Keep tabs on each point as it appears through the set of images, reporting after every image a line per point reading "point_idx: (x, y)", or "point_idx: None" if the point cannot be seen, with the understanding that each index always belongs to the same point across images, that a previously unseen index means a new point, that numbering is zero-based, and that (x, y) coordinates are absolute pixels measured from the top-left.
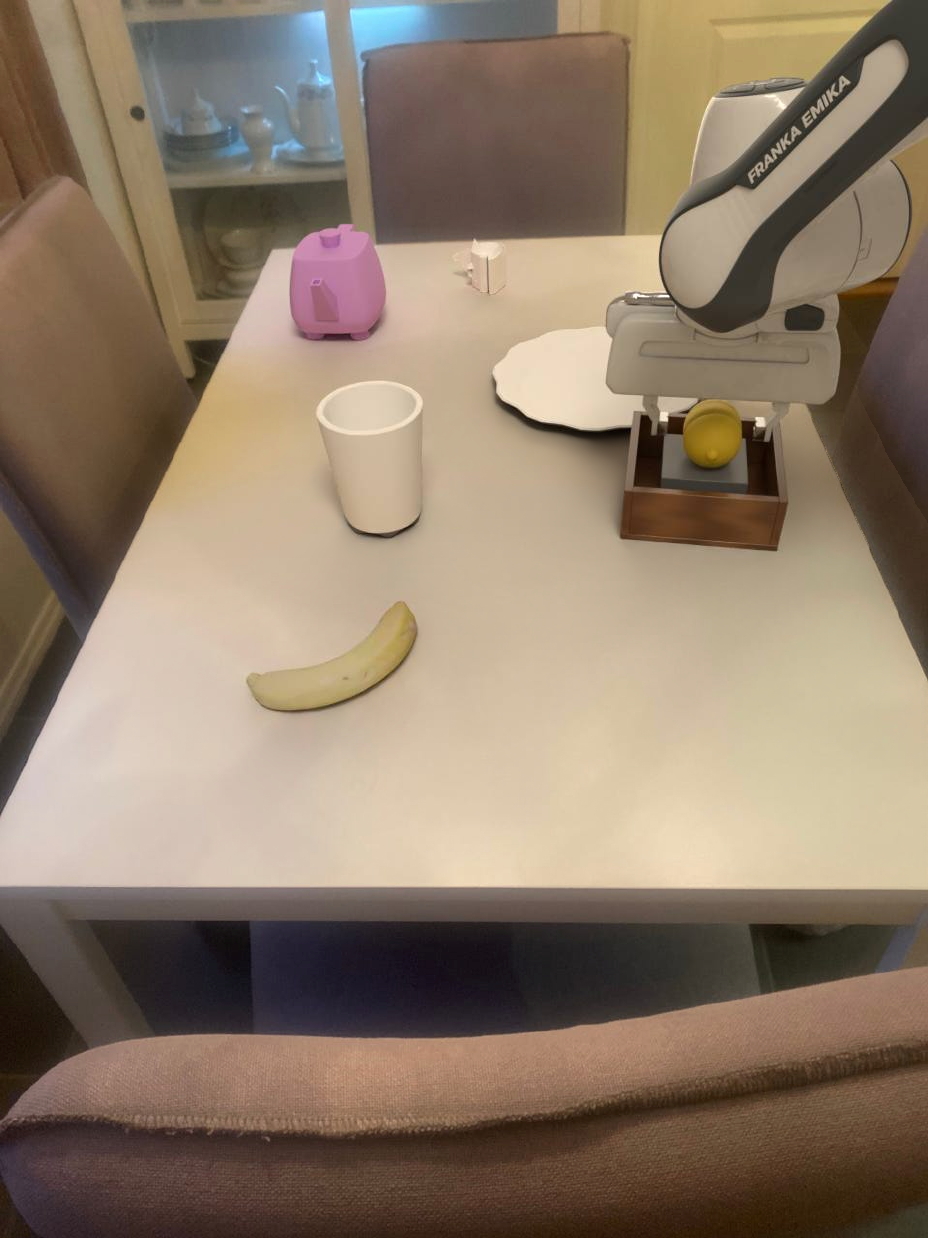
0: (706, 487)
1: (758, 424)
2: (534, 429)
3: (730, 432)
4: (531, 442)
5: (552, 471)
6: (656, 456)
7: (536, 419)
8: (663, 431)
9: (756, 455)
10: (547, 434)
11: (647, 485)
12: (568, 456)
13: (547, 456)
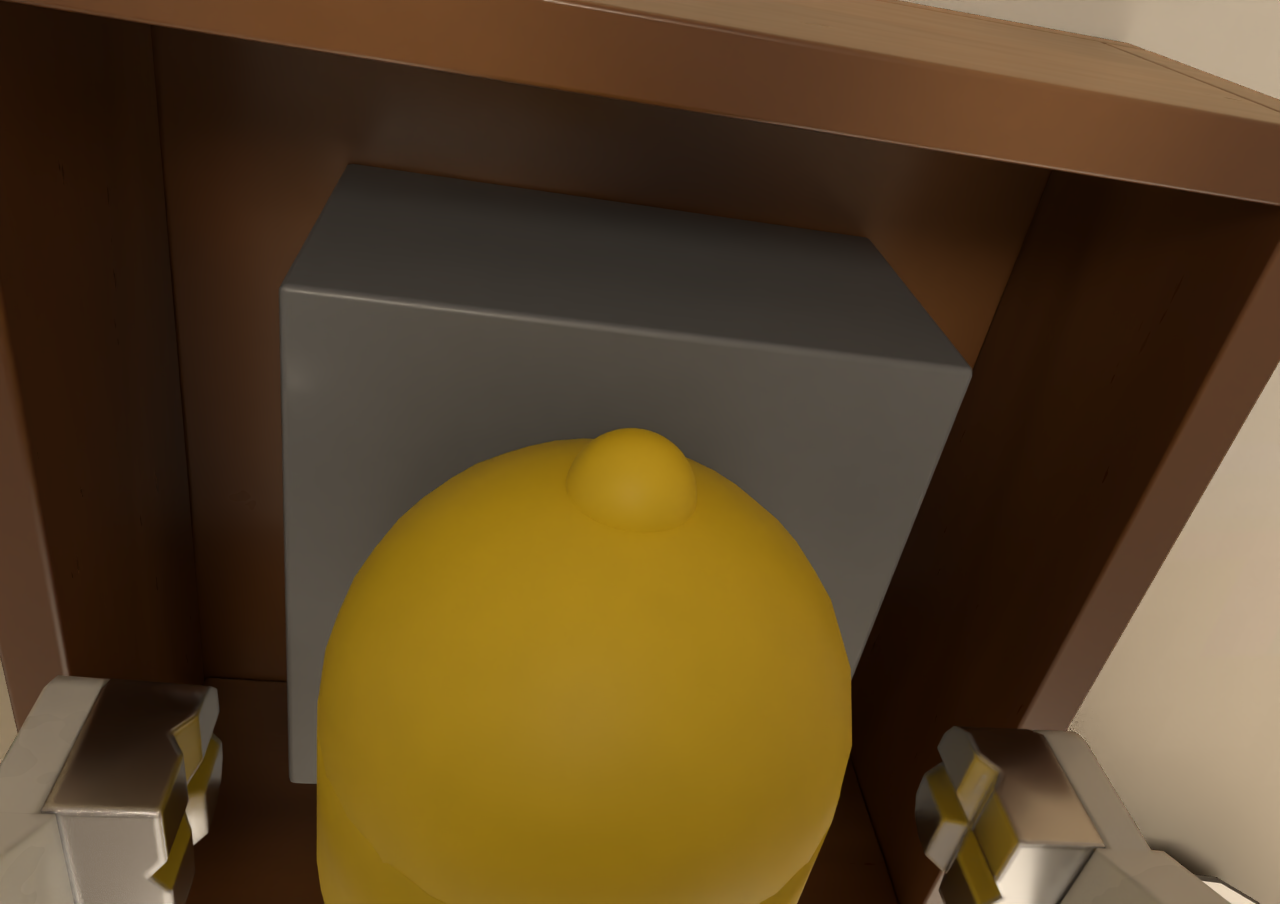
0: (620, 296)
1: (135, 841)
2: (1189, 852)
3: (452, 711)
4: (1238, 784)
5: (1238, 615)
6: None
7: (1235, 894)
8: (1004, 757)
9: (236, 717)
10: (1151, 829)
11: None
12: (1123, 710)
13: (1213, 707)
